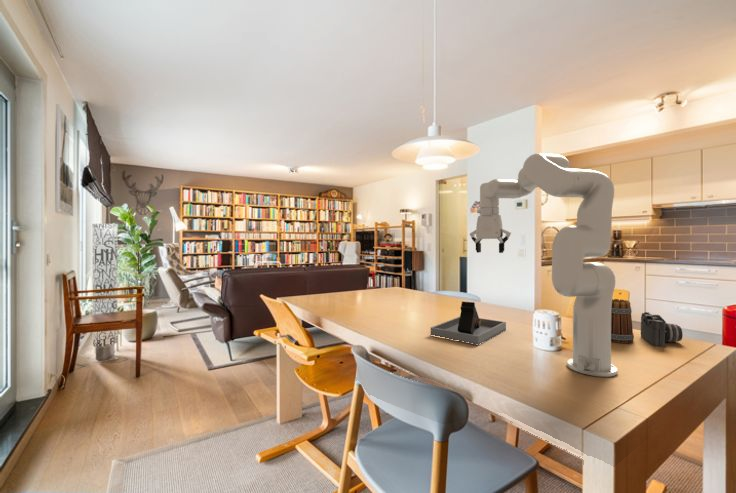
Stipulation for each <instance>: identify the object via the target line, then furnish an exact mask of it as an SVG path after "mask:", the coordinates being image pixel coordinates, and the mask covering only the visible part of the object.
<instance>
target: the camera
mask: <svg viewBox="0 0 736 493" xmlns="http://www.w3.org/2000/svg"><path fill="white" fill-rule="evenodd" d="M640 337H641V338H643V339H644V340H645V341H646V342H648V343H649V344H651V345H652V346H654V347H658V348H665V346H666V342H667V343H672V342H673V343H676V342H681V341H682V339H683V330H682V328H681V326H680V325H678V324H675V323H669V322H667V321H666V320H664V319H663V317H662V316H661V315H659V314H651V313H650V312H649V311H648V312H647V311H644V312H642V313H641V317H640Z"/></svg>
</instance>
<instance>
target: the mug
mask: <svg viewBox="0 0 736 493" xmlns="http://www.w3.org/2000/svg"><path fill="white" fill-rule="evenodd" d="M632 312H633V311H632V307H631V302H630V301H629V300H625V299H618V298H612V306H611V343H616V344H617V343H618V344H632V343H633V342H634V338H635V336H634V331H633V321H632Z"/></svg>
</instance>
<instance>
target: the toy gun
mask: <svg viewBox="0 0 736 493" xmlns="http://www.w3.org/2000/svg"><path fill="white" fill-rule="evenodd" d="M459 317H460V319H459V324H458V329H457V330H458V332H460V333H466V334H471V335H473V332H474V327H479V325H480V319H479V318H480V317H479V314H478V311H477V308H476V303H475V302H474V301H473V302H472V301H461V306H460V314H459Z"/></svg>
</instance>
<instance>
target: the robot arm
mask: <svg viewBox="0 0 736 493" xmlns="http://www.w3.org/2000/svg"><path fill="white" fill-rule="evenodd" d="M570 166H571V165H570V161H569V160H568V159H567V158H566V157H565V156H563V155H561V154H554V153H541V152H537V153H533V154H530V155H529V156H528V157H527V158H526V160H525V161H524V162H523V165H522V168H521V169H520V170H519V171H518V175H517V179H507V178H506V179H505V178H495V179H491V180H490V181H488V182H484V183H481V184H480V186H479V209H477V211H476V213H477V214H479V215H477V220H476V227H475V228H476V229H475V230H474V231H472V232H470V233H469V236H470V238H471V240H472V241H473V242H474V244H475V251H476V253H478V254H479V253H481V252H482V243H481V241H482V240H487V239H488V240H489V239H491V240H492V239H496V240H498V241H499V243H498V253H499V254H503V253H504V251H505V244H506V242H507V241H509V239H510V237H511V234H512V232H511V231H509V230H506V229H505V228H503V221H502V220H503V219H502V216H501V214H500V199H518V198H519V199H520V198H522V197H525V196H528V195H530V194H532V193H533V192H534V190H535V189H537V188H538V189H540V190H542V191H543V192H545V193H546V194H547V195H549V196H552V197H555V198H579V199H583V200H582V201H581V202H580V204H579V206H578V209H577V214H576V225H568V226H564V227H563V228H561V229H559V230H558V232H556V234H555V236H554V238H553V240H552V250H551V252H552V256H551V258H552V259H551V282H552V286H553V288H554V290H555V292H557V293H558V294H559V295H561V296H564V297H569V298H571V297H572V298H573V297H575V299H574V302H573V307H572V358H569V359H567V361H566V365H567V367H568V368H569V369H570V370H572V371H574V372H577V373H580V374H584V375H588V376H593V377H600V378H601V377H603V378H605V377H606V378H607V377H608V378H609V377H610V378H611V377H614V376H616V375H618V374H619V370H618V368H617V367H616V366H615V365H614V364H612V342H611V306H612V299H613V296H614V292H615V287H616V276H615V273H614V271H613V270H612V269H611V268H610V267H609V265H608V266H607V265H606V264H604V263H600V262H584V259H597V258H601V257H604V256H606V255H607V254H608V253H609V252H610V249H611V242H612V224H613V223H612V220H613V219H612V218H613V217H612V216H613V215H612V214H613V205H614V204H613V203H614V198H615V187H614V186H615V185H614V183H613V180H612V179H611V178H610V177H609V176H608V175H607V174H605V173H604V172H601V171H597V170H592V169H583V168H571V167H570ZM504 234H505V236H504V237H503V235H504Z"/></svg>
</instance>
